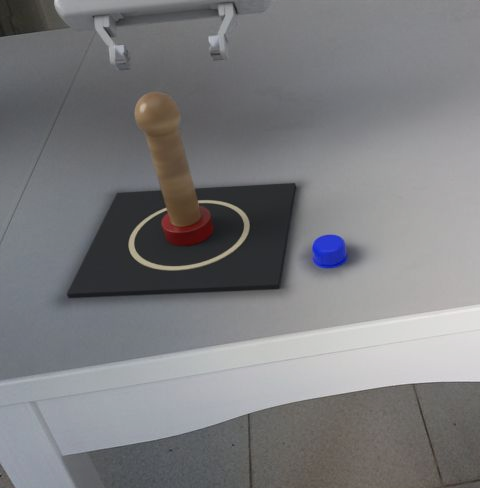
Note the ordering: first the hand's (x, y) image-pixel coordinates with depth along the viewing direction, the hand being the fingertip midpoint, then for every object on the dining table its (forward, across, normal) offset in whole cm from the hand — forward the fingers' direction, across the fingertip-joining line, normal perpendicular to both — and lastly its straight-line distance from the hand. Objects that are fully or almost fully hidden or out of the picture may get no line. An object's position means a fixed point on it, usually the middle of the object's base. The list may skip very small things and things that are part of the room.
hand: (170, 63), depth 69 cm
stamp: (+17, +1, -2) cm, 17 cm away
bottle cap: (+21, +14, -5) cm, 26 cm away
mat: (+17, +1, -2) cm, 17 cm away
